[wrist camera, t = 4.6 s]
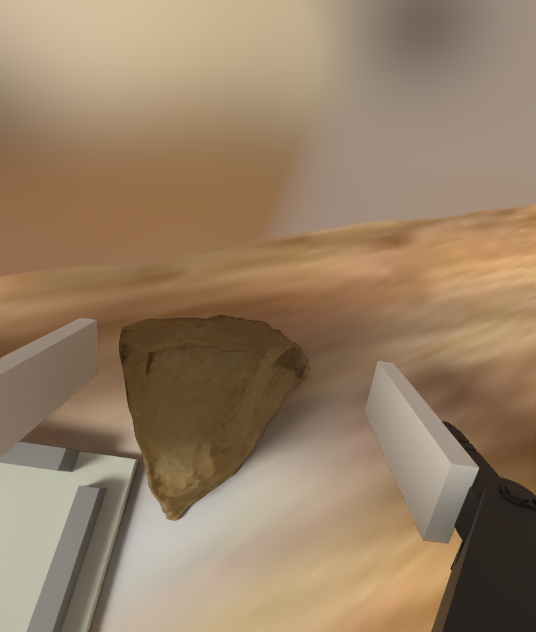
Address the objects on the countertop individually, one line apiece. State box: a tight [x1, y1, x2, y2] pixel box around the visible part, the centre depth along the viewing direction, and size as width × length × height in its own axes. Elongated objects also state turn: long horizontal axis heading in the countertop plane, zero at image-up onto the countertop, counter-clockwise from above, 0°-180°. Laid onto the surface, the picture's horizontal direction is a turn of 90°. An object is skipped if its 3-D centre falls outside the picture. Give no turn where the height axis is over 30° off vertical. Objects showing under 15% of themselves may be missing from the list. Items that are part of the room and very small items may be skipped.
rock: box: [119, 315, 310, 521], centre depth 16 cm, size 11×9×10 cm
